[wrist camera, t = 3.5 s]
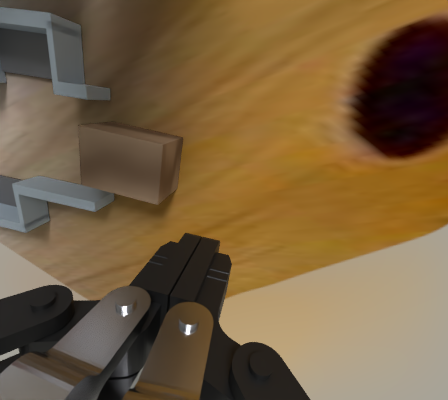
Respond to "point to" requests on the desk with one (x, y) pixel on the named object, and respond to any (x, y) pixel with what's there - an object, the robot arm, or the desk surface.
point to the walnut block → (129, 160)
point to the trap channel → (62, 85)
